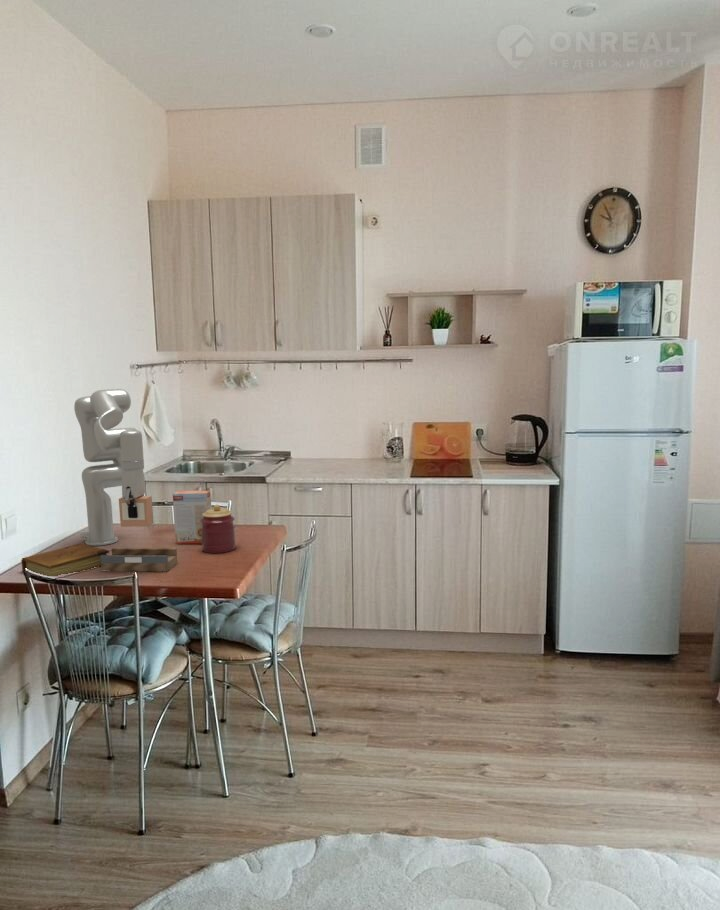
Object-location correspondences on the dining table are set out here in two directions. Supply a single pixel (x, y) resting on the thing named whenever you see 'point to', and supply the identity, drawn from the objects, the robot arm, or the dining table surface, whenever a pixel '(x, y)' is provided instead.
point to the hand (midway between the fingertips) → (136, 515)
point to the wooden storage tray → (139, 559)
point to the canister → (218, 530)
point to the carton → (142, 509)
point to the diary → (65, 560)
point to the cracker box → (190, 515)
